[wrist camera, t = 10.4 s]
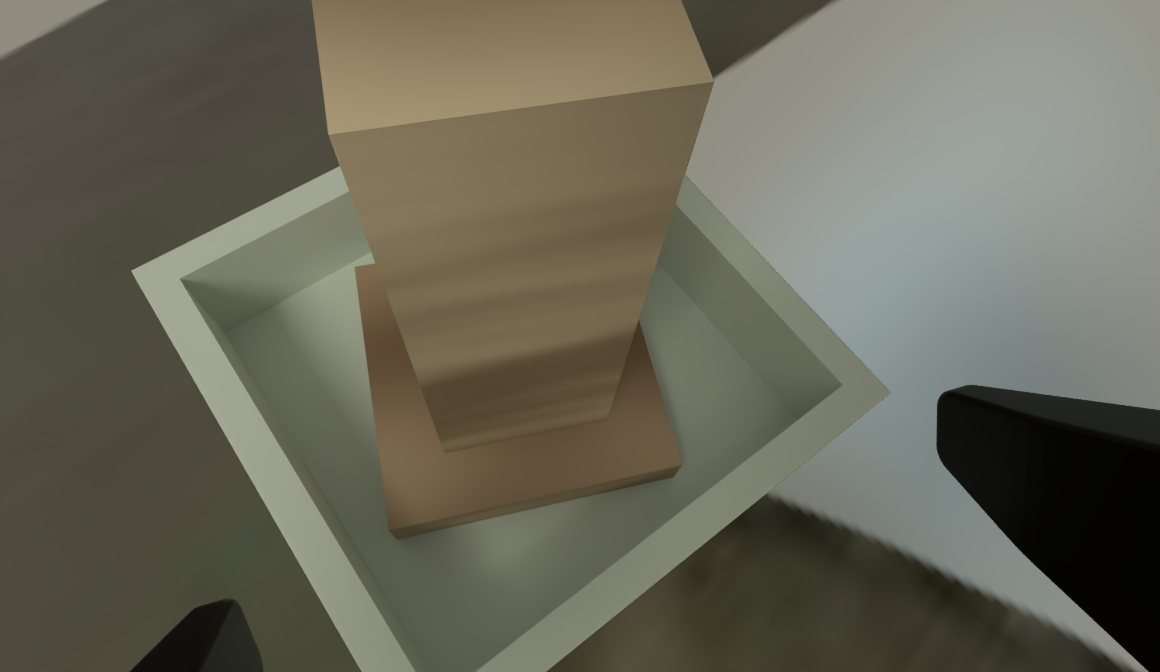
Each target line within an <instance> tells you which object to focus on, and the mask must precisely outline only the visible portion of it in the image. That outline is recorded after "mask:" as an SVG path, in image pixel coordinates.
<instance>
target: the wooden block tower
mask: <svg viewBox="0 0 1160 672" xmlns="http://www.w3.org/2000/svg"><path fill="white" fill-rule="evenodd" d="M312 6H313V14H314V22H315V30H316V38H317V46H318V54H319V62H320V70H321V78H322V86H323V94H324V102H325V110H326V118H327V126H328V134H329V137H330V140H331V143H332V146H333V148H334V151H335V154H336V157H337V159H338V162H339V165H340V168H341V170H342V173H343V176H344V179H345V181H346V184H347V187H348V190H349V192H350V195H351V198H352V200H353V203H354V206H355V209H356V211H357V214H358V217H359V220H360V222H361V225H362V228H363V231H364V233H365V236H366V239H367V242H368V244H369V247H370V250H371V253H372V255H373V258H374V261H375V264H369V265H363V266H357V267H354V268H355V275H356V283H357V291H358V298H359V306H360V314H361V321H362V329H363V337H364V344H365V352H366V360H367V367H368V375H369V383H370V390H371V398H372V406H373V413H374V421H375V429H376V436H377V444H378V452H379V459H380V467H381V475H382V482H383V490H384V498H385V505H386V513H387V521H388V528H389V531H390V532H391V533H392V534H393V536H394V537H395V538H396V539H402V538H406V537H411V536H415V535H419V534H424V533H428V532H433V531H437V530H442V529H446V528H450V527H455V526H459V525H464V524H468V523H473V522H477V521H481V520H486V519H490V518H495V517H499V516H504V515H508V514H512V513H517V512H521V511H526V510H530V509H535V508H539V507H543V506H548V505H552V504H557V503H561V502H566V501H570V500H574V499H579V498H583V497H588V496H592V495H596V494H601V493H605V492H610V491H614V490H619V489H623V488H627V487H632V486H636V485H641V484H645V483H650V482H654V481H658V480H663V479H667V478H672V477H674V476H675V474H676V473H677V472H678V470H679V469H680V468H681V466H682V461H681V458H680V455H679V451H678V448H677V445H676V441H675V438H674V435H673V431H672V428H671V425H670V421H669V418H668V415H667V412H666V408H665V405H664V402H663V398H662V395H661V392H660V388H659V385H658V382H657V378H656V375H655V372H654V368H653V365H652V362H651V358H650V355H649V352H648V348H647V345H646V342H645V338H644V335H643V332H642V328H641V325H640V322H639V317H640V314H641V311H642V308H643V305H644V301H645V298H646V295H647V292H648V289H649V286H650V283H651V279H652V276H653V273H654V270H655V267H656V264H657V261H658V257H659V254H660V251H661V248H662V245H663V242H664V238H665V235H666V232H667V229H668V226H669V223H670V220H671V216H672V213H673V210H674V207H675V204H676V201H677V197H678V194H679V191H680V188H681V185H682V182H683V179H684V175H685V172H686V169H687V166H688V163H689V160H690V156H691V153H692V150H693V147H694V144H695V141H696V137H697V134H698V131H699V128H700V125H701V122H702V119H703V115H704V112H705V109H706V106H707V103H708V99H709V97H710V93H711V90H712V87H713V83H714V80H713V77H712V75H711V72H710V70H709V67H708V65H707V63H706V60H705V58H704V55H703V53H702V50H701V48H700V45H699V43H698V40H697V38H696V36H695V33H694V31H693V28H692V26H691V23H690V21H689V18H688V16H687V13H686V11H685V9H684V6H683V4H682V1H681V0H312Z"/></svg>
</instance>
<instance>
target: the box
mask: <svg viewBox="0 0 1160 672" xmlns="http://www.w3.org/2000/svg"><path fill="white" fill-rule="evenodd" d="M369 264H375V261H374V258H373V255H372V253H371V250H370V247H369V244H368V242H367V239H366V236H365V233H364V231H363V228H362V225H361V222H360V220H359V217H358V214H357V211H356V209H355V206H354V203H353V200H352V198H351V195H350V192H349V190H348V187H347V184H346V181H345V179H344V176H343V173H342V170H341V168H340V167H338V168H336V169H334V170H332V171H330V172H328V173H326V174H324V175H322V176H320V177H318V178H316V179H314V180H312V181H310V182H308V183H306V184H304V185H302V186H300V187H298V188H296V189H294V190H292V191H290V192H288V193H286V194H284V195H282V196H280V197H278V198H276V199H274V200H272V201H270V202H268V203H266V204H264V205H262V206H260V207H258V208H256V209H254V210H252V211H250V212H248V213H246V214H244V215H242V216H240V217H238V218H236V219H234V220H232V221H230V222H228V223H226V224H224V225H222V226H220V227H218V228H216V229H214V230H212V231H210V232H208V233H206V234H204V235H202V236H200V237H198V238H196V239H194V240H192V241H190V242H188V243H186V244H184V245H182V246H180V247H178V248H176V249H174V250H172V251H170V252H168V253H166V254H164V255H162V256H160V257H158V258H156V259H154V260H152V261H150V262H148V263H146V264H144V265H142V266H140V267H138V268H136V269H134V270H132V271H131V272H132V273H133V275H134V277H135V279H136V280H137V282H138V284H139V285H140V287H141V289H142V291H143V292H144V294H145V296H146V298H147V299H148V301H149V303H150V305H151V306H152V308H153V310H154V312H155V313H156V315H157V317H158V319H159V320H160V322H161V324H162V325H163V327H164V329H165V331H166V332H167V334H168V336H169V338H170V339H171V341H172V343H173V345H174V346H175V348H176V350H177V352H178V353H179V355H180V357H181V359H182V360H183V362H184V364H185V365H186V367H187V369H188V371H189V372H190V374H191V376H192V378H193V379H194V381H195V383H196V385H197V386H198V388H199V390H200V392H201V393H202V395H203V397H204V399H205V400H206V402H207V404H208V405H209V407H210V409H211V411H212V412H213V414H214V416H215V418H216V419H217V421H218V423H219V425H220V426H221V428H222V430H223V432H224V433H225V435H226V437H227V438H228V440H229V442H230V444H231V445H232V447H233V449H234V451H235V452H236V454H237V456H238V458H239V459H240V461H241V463H242V465H243V466H244V468H245V470H246V472H247V473H248V475H249V477H250V478H251V480H252V482H253V484H254V485H255V487H256V489H257V491H258V492H259V494H260V496H261V498H262V499H263V501H264V503H265V505H266V506H267V508H268V510H269V512H270V513H271V515H272V517H273V518H274V520H275V522H276V524H277V525H278V527H279V529H280V531H281V532H282V534H283V536H284V538H285V539H286V541H287V543H288V545H289V546H290V548H291V550H292V551H293V553H294V555H295V557H296V558H297V560H298V562H299V564H300V565H301V567H302V569H303V571H304V572H305V574H306V576H307V578H308V579H309V581H310V583H311V585H312V586H313V588H314V590H315V591H316V593H317V595H318V597H319V598H320V600H321V602H322V604H323V605H324V607H325V609H326V611H327V612H328V614H329V616H330V618H331V619H332V621H333V623H334V625H335V626H336V628H337V630H338V631H339V633H340V635H341V637H342V638H343V640H344V642H345V644H346V645H347V647H348V649H349V651H350V652H351V654H352V656H353V658H354V659H355V661H356V663H357V664H358V666H359V668H360V670H361V671H362V672H546V671H548V670H549V669H550V668H551V667H552V666H554V665H555V664H556V663H557V662H559V661H560V660H561V659H562V658H564V657H565V656H566V655H567V654H569V653H570V652H571V651H572V650H574V649H575V648H576V647H577V646H578V645H580V644H581V643H582V642H583V641H585V640H586V639H587V638H588V637H590V636H591V635H592V634H593V633H595V632H596V631H597V630H598V629H599V628H601V627H602V626H603V625H604V624H606V623H607V622H608V621H609V620H611V619H612V618H613V617H614V616H616V615H617V614H618V613H619V612H620V611H622V610H623V609H624V608H625V607H627V606H628V605H629V604H630V603H632V602H633V601H634V600H635V599H637V598H638V597H639V596H640V595H642V594H643V593H644V592H645V591H646V590H648V589H649V588H650V587H651V586H653V585H654V584H655V583H656V582H658V581H659V580H660V579H661V578H663V577H664V576H665V575H666V574H667V573H669V572H670V571H671V570H672V569H674V568H675V567H676V566H677V565H679V564H680V563H681V562H682V561H684V560H685V559H686V558H687V557H688V556H690V555H691V554H692V553H693V552H695V551H696V550H697V549H698V548H700V547H701V546H702V545H703V544H705V543H706V542H707V541H708V540H710V539H711V538H712V537H713V536H714V535H716V534H717V533H718V532H719V531H721V530H722V529H723V528H724V527H726V526H727V525H728V524H729V523H731V522H732V521H733V520H734V519H735V518H737V517H738V516H739V515H740V514H742V513H743V512H744V511H745V510H747V509H748V508H749V507H750V506H752V505H753V504H754V503H755V502H756V501H758V500H759V499H760V498H761V497H763V496H764V495H765V494H766V493H768V492H769V491H770V490H771V489H773V488H774V487H775V486H776V485H778V484H779V483H780V482H781V481H782V480H784V479H785V478H786V477H787V476H789V475H790V474H791V473H792V472H793V471H795V470H796V469H797V468H798V467H800V466H801V465H802V464H803V463H805V462H806V461H807V460H808V459H809V458H811V457H812V456H813V455H815V454H816V453H817V452H818V451H820V450H821V449H822V448H823V447H824V446H825V445H827V444H828V443H829V442H831V441H832V440H833V439H834V438H836V437H837V436H838V435H839V434H840V433H842V432H843V431H844V430H845V429H846V428H848V427H849V426H850V425H852V424H853V423H854V422H855V421H856V420H858V419H859V418H860V417H862V416H863V415H864V414H865V413H866V412H868V411H869V410H870V409H871V408H873V407H874V406H875V405H876V404H878V403H879V402H880V401H881V400H883V399H884V398H885V397H886V396H888V395H889V394H890V393H891V392H890V391H889V390H888V389H887V388H886V387H885V386H884V385H883V384H882V383H881V382H880V381H879V379H878V378H876V376H875V375H874V374H873V373H872V372H871V371H870V370H869V369H868V368H867V367H866V366H865V365H864V364H863V362H861V360H860V359H859V358H858V357H857V356H856V355H855V354H854V353H853V352H852V351H851V350H850V349H849V348H848V347H847V346H846V345H845V343H843V341H842V340H841V339H840V338H839V337H838V336H837V335H836V334H835V333H834V332H833V331H832V330H831V329H830V328H829V327H828V326H827V325H826V324H825V322H824V321H823V320H822V319H821V318H820V317H819V316H818V315H817V314H816V313H815V312H814V311H813V310H812V309H811V308H810V306H809V305H808V304H807V303H806V302H805V301H804V300H803V299H802V298H801V297H800V296H799V295H798V294H797V293H796V292H795V291H794V289H792V287H791V286H790V285H789V284H788V283H787V282H786V281H785V280H784V279H783V278H782V277H781V276H780V275H779V274H778V273H777V272H776V270H775V269H774V268H773V267H772V266H771V265H770V264H769V263H768V262H767V261H766V260H765V259H764V258H763V257H762V256H761V255H760V254H759V252H758V251H757V250H756V249H755V248H754V247H753V246H752V245H751V244H750V243H749V242H748V241H747V240H746V239H745V238H744V237H743V236H742V235H741V234H740V232H739V231H738V230H737V229H736V228H735V227H734V226H733V225H732V224H731V223H730V222H729V221H728V220H727V219H726V218H725V217H724V216H723V214H722V213H721V212H720V211H719V210H718V209H717V208H716V207H715V206H714V205H713V204H712V203H711V202H710V201H709V200H708V199H707V197H706V196H705V195H704V194H703V193H702V192H701V191H700V190H699V189H698V188H697V187H696V186H695V185H694V184H693V183H692V182H691V181H690V179H689V178H688V177H687V176H686V175H684V179H683V182H682V185H681V188H680V191H679V194H678V197H677V201H676V204H675V207H674V210H673V213H672V216H671V220H670V223H669V226H668V229H667V232H666V235H665V238H664V242H663V245H662V248H661V251H660V254H659V257H658V261H657V264H656V267H655V270H654V273H653V276H652V279H651V283H650V286H649V289H648V292H647V295H646V298H645V301H644V305H643V308H642V311H641V314H640V317H639V322H640V325H641V328H642V332H643V335H644V338H645V342H646V345H647V348H648V352H649V355H650V358H651V362H652V365H653V368H654V372H655V375H656V378H657V382H658V385H659V388H660V392H661V395H662V398H663V402H664V405H665V408H666V412H667V415H668V418H669V421H670V425H671V428H672V431H673V435H674V438H675V441H676V445H677V448H678V451H679V455H680V458H681V461H682V466H681V468H680V469H679V470H678V472H677V473H676V474H675V476H674V477H672V478H667V479H663V480H658V481H654V482H650V483H645V484H641V485H636V486H632V487H627V488H623V489H619V490H614V491H610V492H605V493H601V494H596V495H592V496H588V497H583V498H579V499H574V500H570V501H566V502H561V503H557V504H552V505H548V506H543V507H539V508H535V509H530V510H526V511H521V512H517V513H512V514H508V515H504V516H499V517H495V518H490V519H486V520H481V521H477V522H473V523H468V524H464V525H459V526H455V527H450V528H446V529H442V530H437V531H433V532H428V533H424V534H419V535H415V536H411V537H406V538H402V539H396V538H395V537H394V536H393V534H392V533H391V532H390V531H389V528H388V521H387V513H386V505H385V498H384V490H383V482H382V475H381V467H380V459H379V452H378V444H377V436H376V429H375V421H374V413H373V406H372V398H371V390H370V383H369V375H368V367H367V360H366V352H365V344H364V337H363V329H362V321H361V314H360V306H359V298H358V291H357V283H356V275H355V268H354V267H357V266H363V265H369Z"/></svg>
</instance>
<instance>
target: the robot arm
mask: <svg viewBox="0 0 1160 672" xmlns="http://www.w3.org/2000/svg"><path fill="white" fill-rule="evenodd" d="M936 445H937V452H938V455H939V458H940V460H941V461H942V463H943V465H944V466H945V467H946V468H947V470H949V472H950V473H951V474H952V475H953V476H954V477H955V478H956V480H957V481H958V482H959V483H960V484H961V485H962V486H963V487H964V489H965V490H966V491H967V492H968V493H969V494H970V495H971V497H972V498H973V499H974V500H975V501H976V502H977V503H978V504H979V505H980V507H981V508H982V509H983V510H984V511H985V512H986V513H987V515H989V517H990V518H991V519H992V520H993V521H994V522H995V524H996V525H997V526H998V527H999V528H1000V529H1001V530H1002V531H1003V533H1005V535H1006V536H1007V537H1008V538H1009V539H1010V540H1011V541H1012V542H1013V543H1014V545H1015V546H1016V547H1017V548H1018V549H1019V550H1020V551H1021V552H1022V553H1023V554H1024V555H1025V556H1026V557H1027V558H1028V559H1029V560H1030V561H1031V562H1032V563H1033V564H1034V565H1035V566H1036V567H1037V568H1039V569H1040V570H1041V571H1042V572H1043V573H1044V574H1045V575H1046V576H1047V577H1048V578H1049V579H1050V580H1051V581H1052V582H1053V583H1055V584H1056V585H1057V586H1058V587H1059V588H1060V589H1061V590H1062V591H1063V592H1064V593H1065V594H1066V595H1067V596H1069V598H1071V599H1072V600H1073V601H1074V602H1075V603H1076V604H1077V605H1078V606H1079V607H1080V608H1081V609H1082V610H1083V611H1085V612H1086V613H1087V614H1088V615H1089V616H1090V617H1091V618H1092V619H1093V620H1094V621H1095V622H1096V623H1097V624H1098V625H1099V626H1100V627H1102V628H1103V629H1104V630H1105V631H1106V632H1107V633H1108V634H1109V635H1110V636H1111V637H1112V638H1113V639H1115V640H1116V642H1118V643H1119V644H1120V645H1121V646H1122V647H1123V648H1124V649H1125V650H1126V651H1127V652H1128V653H1129V654H1130V655H1132V656H1133V657H1134V658H1135V659H1136V660H1137V661H1138V662H1139V663H1140V664H1141V665H1142V666H1143V667H1144V668H1145V669H1146V670H1148V671H1149V672H1160V410H1155V409H1147V408H1140V407H1132V406H1125V405H1118V404H1110V403H1103V402H1095V401H1088V400H1081V399H1073V398H1066V397H1058V396H1051V395H1043V394H1036V393H1029V392H1021V391H1014V390H1007V389H999V388H992V387H985V386H977V385H967V386H963V387H960V388H956V389H952V390H949V391H946V392H944V393H943V394H942V395H941V396H940V397H939V399H938V403H937V444H936ZM130 672H263V664H262V659H261V655H260V652H259V649H258V647H257V644H256V642H255V640H254V637H253V635H252V632H251V630H250V627H249V625H248V623H247V620H246V618H245V615H244V613H243V611H242V608H241V606H240V605H239V603H238V602H237V601H236V600H234V599H232V598H227V599H223V600H220V601H216V602H213V603H209V604H206V605H202V606H199V607H197V608H195V609H193V610H192V611H191V612H190V613H189V614H188V615H187V616H186V617H185V618H184V619H183V620H182V621H181V622H180V623H179V624H178V625H177V626H176V627H175V628H173V629H172V630H171V631H170V632H169V633H168V634H167V635H166V636H165V637H164V638H163V639H162V640H161V641H160V642H159V643H158V644H157V645H156V646H155V647H154V648H153V649H152V650H151V651H150V652H149V653H148V654H147V655H146V656H145V657H144V658H143V659H142V660H141V661H140V662H139V663H138V664H137V665H136V666H135V667H134V668H133V669H132V670H131V671H130Z"/></svg>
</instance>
